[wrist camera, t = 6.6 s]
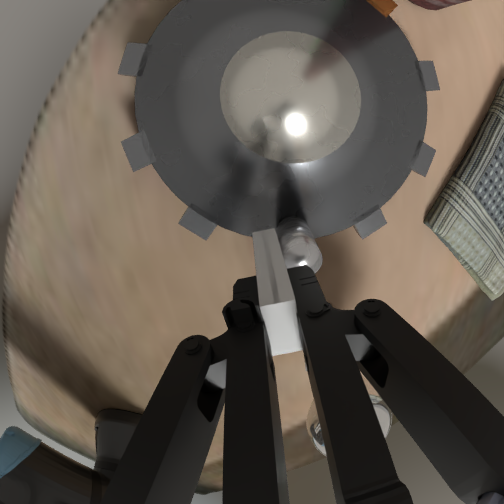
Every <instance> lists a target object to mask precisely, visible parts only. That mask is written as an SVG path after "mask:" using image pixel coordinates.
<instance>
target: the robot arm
mask: <svg viewBox="0 0 504 504" xmlns="http://www.w3.org/2000/svg"><path fill="white" fill-rule="evenodd" d="M252 235H253V245H254V255H255V266H256V276H252V277H247V278H242V279H238V280H237V281H236V283H235V284H234V286H233V300H232V301H231V302H229V303H227V304H226V306H225V307H224V308H223V311H222V313H223V316H224V319H225V322H226V324H227V327H228V330H227V331H226V332H225V333H224V334H222V335H220V336H218V337H216V338H214V339H211V340H209V339H208V338H206V337H205V336H202V335H193V336H190V337H187V338H186V339H184V340H183V341H181V343H180V344H179V345H178V347H177V348H176V350H175V352H174V354H173V356H172V358H171V360H170V362H169V364H168V366H167V368H166V370H165V372H164V374H163V375H162V377H161V379H160V381H159V383H158V385H157V387H156V389H155V391H154V393H153V395H152V397H151V399H150V401H149V403H148V405H147V407H146V409H145V411H144V413H143V415H140V414H136V413H132V412H128V411H122V410H114V409H108V410H102V411H100V412H99V413H98V415H97V418H96V422H95V431H96V434H95V440H96V454H97V458H96V462H95V466H94V470H93V469H91V468H89V467H87V466H85V465H83V464H81V463H79V462H76V461H75V460H73V459H71V458H69V457H67V456H65V455H63V454H62V453H60V452H58V451H56V450H54V449H53V448H51V447H49V446H48V445H46V444H45V443H43V442H41V440H40V439H38V438H35V437H33V436H32V435H30V434H28V433H26V432H25V431H23V430H22V429H20V428H18V427H15V426H11V427H8V428H7V429H6V430H5V432H4V433H3V435H2V436H1V438H0V504H190V503H191V501H192V498H193V495H194V492H195V490H196V487H197V484H198V481H199V478H200V475H201V472H202V469H203V466H204V463H205V460H206V457H207V455H208V452H209V449H210V446H211V443H212V440H213V437H214V434H215V431H216V428H217V424H218V421H219V418H220V415H221V412H222V409H223V406H224V403H225V413H224V448H223V504H290V503H289V493H288V484H287V474H286V465H285V456H284V446H283V437H282V428H281V419H280V411H279V402H278V393H277V384H276V376H275V367H274V363H273V359H272V356H275V355H280V354H286V353H291V352H295V351H300V350H303V352H304V359H305V366H306V371H307V372H308V376H309V380H310V384H311V388H312V393H313V397H314V401H315V406H316V410H317V414H318V419H319V423H320V428H321V432H322V437H323V441H324V446H325V450H326V455H327V460H328V464H329V469H330V474H331V479H332V484H333V489H334V493H335V499H336V503H337V504H413V501H412V498H411V495H410V493H409V490H408V489H407V487H406V485H405V484H403V483H402V482H401V481H400V480H399V478H398V476H397V473H396V470H395V467H394V464H393V461H392V458H391V455H390V452H389V449H388V446H387V443H386V440H385V437H384V434H383V431H382V429H381V426H380V423H379V420H378V417H377V415H376V412H375V409H374V407H373V404H372V401H371V399H370V396H369V393H368V391H367V388H366V386H365V383H364V380H363V378H362V375H361V373H360V371H361V372H362V374H363V375H364V376H365V378H366V379H367V380H368V381H369V383H370V384H371V385H372V386H373V388H374V389H375V390H376V392H377V393H378V394H379V395H380V397H381V398H382V399H383V401H384V402H385V403H386V404H387V406H388V407H389V408H390V410H391V411H392V412H393V413H394V415H395V416H396V417H397V419H398V420H399V421H400V423H401V424H402V425H403V426H404V428H405V429H406V430H407V432H408V433H409V434H410V436H411V437H412V438H413V439H414V441H415V442H416V443H417V445H418V446H419V447H420V449H421V450H422V451H423V452H424V454H425V455H426V457H427V458H428V459H429V460H430V462H431V463H432V464H433V466H434V467H435V468H436V470H437V471H438V472H439V474H440V475H441V476H442V478H443V479H444V480H445V482H446V483H447V484H448V486H449V487H450V488H451V490H452V491H453V492H454V493H455V494H456V495H457V497H458V498H459V499H461V500H462V501H463V502H464V503H466V504H504V416H502V414H501V413H500V412H499V411H498V410H497V409H496V408H495V407H494V406H493V405H492V404H491V403H490V402H489V401H488V400H487V399H486V398H485V397H484V396H483V395H482V394H481V392H480V391H479V390H478V389H477V388H476V387H475V386H474V385H473V384H472V383H471V382H470V381H469V380H468V379H467V378H466V377H465V376H464V375H463V374H462V373H461V372H460V371H459V370H458V369H457V368H456V367H455V366H454V365H453V364H451V363H450V362H449V361H448V360H447V359H446V358H445V357H444V356H443V355H442V354H441V353H440V352H439V351H438V350H437V349H436V348H435V347H434V346H433V345H431V344H430V343H429V342H428V341H427V340H426V339H425V338H424V337H423V336H422V335H421V334H420V333H418V332H417V331H416V330H415V329H414V328H413V327H412V326H411V325H410V324H409V323H407V322H406V321H405V320H404V319H403V318H402V317H401V316H400V315H398V314H397V313H396V312H395V311H394V310H393V309H392V308H391V307H389V306H388V305H387V304H386V303H384V302H383V301H381V300H377V299H367V300H363V301H361V302H360V303H358V304H357V305H356V307H355V310H339V309H335V308H333V307H332V305H331V304H330V303H328V302H326V300H325V297H324V295H323V292H322V290H321V288H320V285H319V283H318V281H317V278H316V276H315V274H314V271H313V269H311V268H310V267H309V266H307V265H302V266H297V267H293V268H288V269H287V268H286V265H285V261H284V258H283V255H282V251H281V248H280V244H279V241H278V238H277V234H276V231H275V228H272V229H267V230H262V231H257V232H253V233H252Z"/></svg>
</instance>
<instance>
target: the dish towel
mask: <svg viewBox="0 0 504 504" xmlns="http://www.w3.org/2000/svg"><path fill="white" fill-rule="evenodd" d="M424 224H426V225H427V226H428V227H429V228H430V229H431V230H432V231H433V232H434V233H435V234H436V235H437V236H438V238H439V239H440V240H441V241H442V242H443V243H444V244H445V245H446V246H447V247H448V248H449V250H450V251H451V252H452V253H453V255H454V256H455V257H456V258H457V259H458V261H459V262H460V263H461V265H462V266H463V267H464V268H465V269H466V270H467V272H468V273H469V274H470V275H471V277H472V278H473V279H474V280H475V281H476V283H477V284H478V286H479V287H480V289H481V290H482V291H483V292H484V293H486V294H487V296H488V297H489V298H490V299H491V300H494V299H496V298H497V297H499V296H500V295H501V294H502V293H503V292H504V80H503V81H502V83H501V85H500V87H499V89H498V92H497V94H496V96H495V99H494V101H493V103H492V105H491V107H490V109H489V111H488V113H487V115H486V118H485V120H484V122H483V123H482V125H481V127H480V129H479V130H478V133H477V135H476V137H475V139H474V140H473V142H472V144H471V146H470V148H469V150H468V152H467V153H466V155H465V157H464V158H463V160H462V161H461V163H460V165H459V166H458V168H457V169H456V171H455V173H454V174H453V176H452V177H451V179H450V180H449V182H448V184H447V185H446V187H445V188H444V190H443V191H442V193H441V194H440V196H439V197H438V199H437V201H436V203H435V204H434V206H433V208H432V209H431V211H430V212H429V214H428V215H427V217H426V218H425V220H424Z"/></svg>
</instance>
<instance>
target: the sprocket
mask: <svg viewBox="0 0 504 504" xmlns="http://www.w3.org/2000/svg"><path fill="white" fill-rule="evenodd" d="M397 6H398V5H397V4H396V3H395V2H394V1H392V0H182V1H181V2H179V3H178V4H177V5H176V6H175V7H174V8H173V9H172V10H171V11H170V12H169V13H168V14H167V15H166V17H165V18H164V19H163V20H162V21H161V23H160V24H159V25H158V27H157V28H156V30H155V31H154V33H153V35H152V36H151V38H150V40H149V41H148V44H142V43H127V46H126V49H125V52H124V55H123V58H122V61H121V64H120V68H119V71H118V74H120V75H125V76H134V77H136V86H135V115H136V120H137V125H138V130H139V133H137V134H135V135H133V136H131V137H129V138H127V139H125V140H123V141H122V142H121V143H122V146H123V148H124V151H125V153H126V156H127V158H128V160H129V163H130V165H131V167H132V170H133V172H135V171H137V170H139V169H141V168H143V167H145V166H148V165H150V164H152V165H153V167H154V169H155V170H156V171H157V173H158V174H159V176H160V177H161V179H162V180H163V181H164V183H165V184H166V185H167V186H168V187H169V188H170V190H171V191H172V192H173V193H174V194H175V195H176V196H177V197H178V198H179V199H180V200H181V201H182V202H184V203H185V204H186V205H187V206H188V208H187V210H186V211H185V213H184V214H183V216H182V218H181V219H180V221H179V223H178V224H180V225H181V226H183V227H185V228H186V229H188V230H190V231H191V232H193V233H194V234H196V235H198V236H199V237H201V238H203V239H204V240H207V239H208V237H209V236H210V234H211V233H212V232H213V230H214V229H215V227H216V226H217V225H219V226H221V227H223V228H225V229H228V230H231V231H234V232H236V233H239V234H242V235H246V236H251V237H253V235H252V233H253V232H257V231H262V230H267V229H272V228H275V231H276V234H277V238H278V241H279V244H280V248H281V251H282V255H283V258H284V261H285V265H286V268H287V269H288V268H293V267H297V266H302V265H307V266H309V267H310V268H311V269H313V271H314V274H315V273H316V272H317V271H318V270H319V269H320V267H321V265H322V254H321V252H320V250H319V247H318V245H317V243H316V241H315V239H314V238H318V237H322V236H326V235H330V234H333V233H336V232H339V231H341V230H344V229H347V228H349V227H351V226H353V227H354V228H355V230H356V232H357V233H358V234H359V236H360V237H361V238H362V239H364V238H366V237H367V236H369V235H370V234H372V233H373V232H375V231H376V230H378V229H379V228H381V227H382V226H384V225H385V224H387V222H386V220H385V218H384V216H383V214H382V211H381V209H380V208H381V207H382V206H383V205H384V204H385V203H386V202H387V201H388V200H389V199H391V197H392V196H393V195H394V194H395V193H396V192H397V190H398V189H399V188H400V187H401V186H402V184H403V183H404V181H405V180H406V178H407V177H408V175H409V174H410V172H411V170H413V171H414V172H416V173H418V174H420V175H422V176H424V177H426V174H427V172H428V170H429V167H430V165H431V162H432V160H433V157H434V155H435V152H436V150H435V149H433V148H432V147H430V146H429V145H427V144H426V143H424V142H423V139H424V134H425V129H426V122H427V97H426V91H433V90H440V87H439V83H438V79H437V75H436V71H435V67H434V64H433V61H418V60H417V57H416V55H415V53H414V51H413V49H412V47H411V45H410V43H409V41H408V40H407V38H406V36H405V35H404V34H403V32H402V31H401V29H400V28H399V26H398V25H397V24H396V23H395V22H394V20H393V19H392V18H391V17H390V16H389V14H390V13H391V12H392V11H393V10H394V9H395V8H396V7H397Z"/></svg>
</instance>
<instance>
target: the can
mask: <svg viewBox="0 0 504 504" xmlns="http://www.w3.org/2000/svg"><path fill="white" fill-rule="evenodd" d="M409 1H410V2H412V3H413V4H416V5H418V6H421V7H423V8H426V9H430V10H439V9H442V8H445V7H449V6H452V5H455V4H459V3H462V2H466V1H470V0H409Z"/></svg>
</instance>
